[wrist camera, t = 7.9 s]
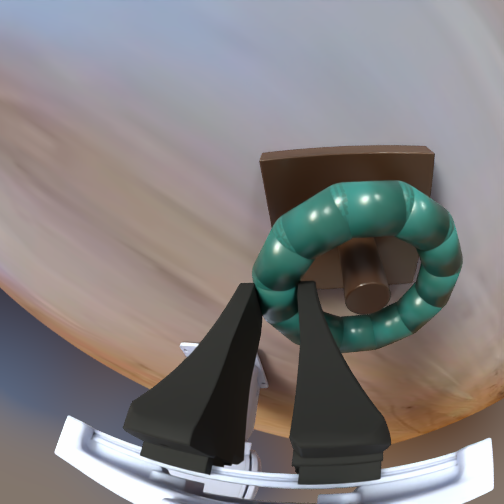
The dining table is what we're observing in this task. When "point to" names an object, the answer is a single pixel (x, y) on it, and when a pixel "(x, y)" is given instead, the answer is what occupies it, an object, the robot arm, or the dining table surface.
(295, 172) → the brown peg stand
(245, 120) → the dining table surface
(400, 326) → the ring
